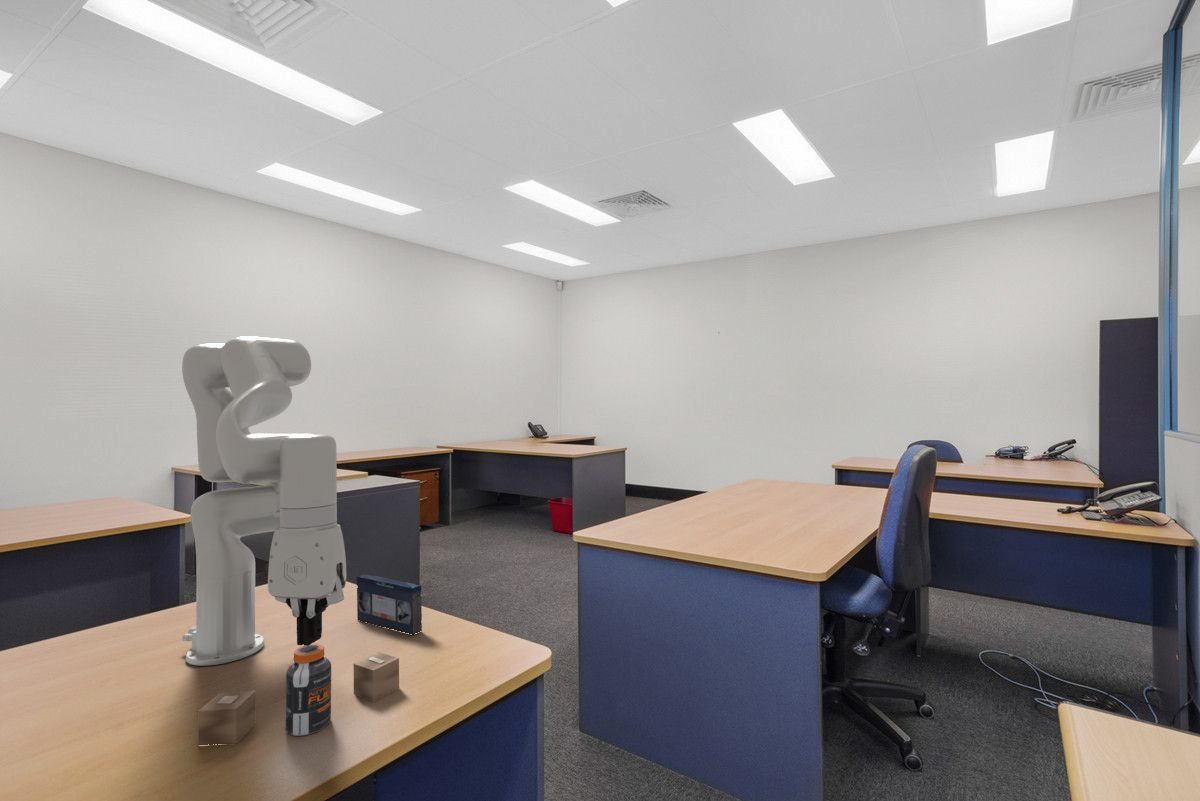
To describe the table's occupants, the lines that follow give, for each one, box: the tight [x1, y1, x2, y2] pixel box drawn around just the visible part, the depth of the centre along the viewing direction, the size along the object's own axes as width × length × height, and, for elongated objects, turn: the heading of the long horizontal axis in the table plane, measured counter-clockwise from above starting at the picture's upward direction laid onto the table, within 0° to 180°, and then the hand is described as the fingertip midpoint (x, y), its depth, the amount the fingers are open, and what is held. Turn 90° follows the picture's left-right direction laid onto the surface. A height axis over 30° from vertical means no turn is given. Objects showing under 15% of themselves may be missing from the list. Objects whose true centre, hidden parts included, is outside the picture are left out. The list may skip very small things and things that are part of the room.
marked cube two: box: [353, 651, 400, 702], centre depth 91 cm, size 5×5×5 cm
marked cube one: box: [197, 690, 256, 746], centre depth 79 cm, size 5×5×5 cm
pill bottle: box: [285, 643, 332, 737], centre depth 81 cm, size 6×6×11 cm
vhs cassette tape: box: [356, 573, 423, 636], centre depth 119 cm, size 18×3×10 cm, turn 58°
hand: (309, 641), depth 81 cm, fingers closed
